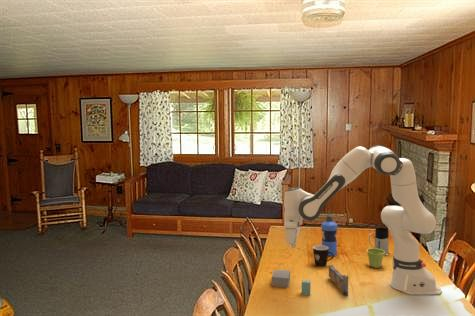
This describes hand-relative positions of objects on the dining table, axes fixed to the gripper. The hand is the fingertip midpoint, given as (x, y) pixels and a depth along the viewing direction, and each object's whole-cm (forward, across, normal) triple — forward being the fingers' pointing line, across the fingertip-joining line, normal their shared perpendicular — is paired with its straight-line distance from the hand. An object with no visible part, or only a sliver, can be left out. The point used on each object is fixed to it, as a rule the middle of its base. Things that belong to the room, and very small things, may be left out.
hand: (293, 247), depth 190 cm
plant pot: (+20, -34, +41) cm, 57 cm away
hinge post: (+19, +6, +25) cm, 32 cm away
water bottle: (+19, -48, +15) cm, 54 cm away
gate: (+18, -3, +21) cm, 28 cm away
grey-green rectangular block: (+19, +10, +7) cm, 22 cm away
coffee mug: (+19, -28, +12) cm, 36 cm away
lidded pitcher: (+20, -56, +43) cm, 73 cm away
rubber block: (+19, +1, -6) cm, 20 cm away
